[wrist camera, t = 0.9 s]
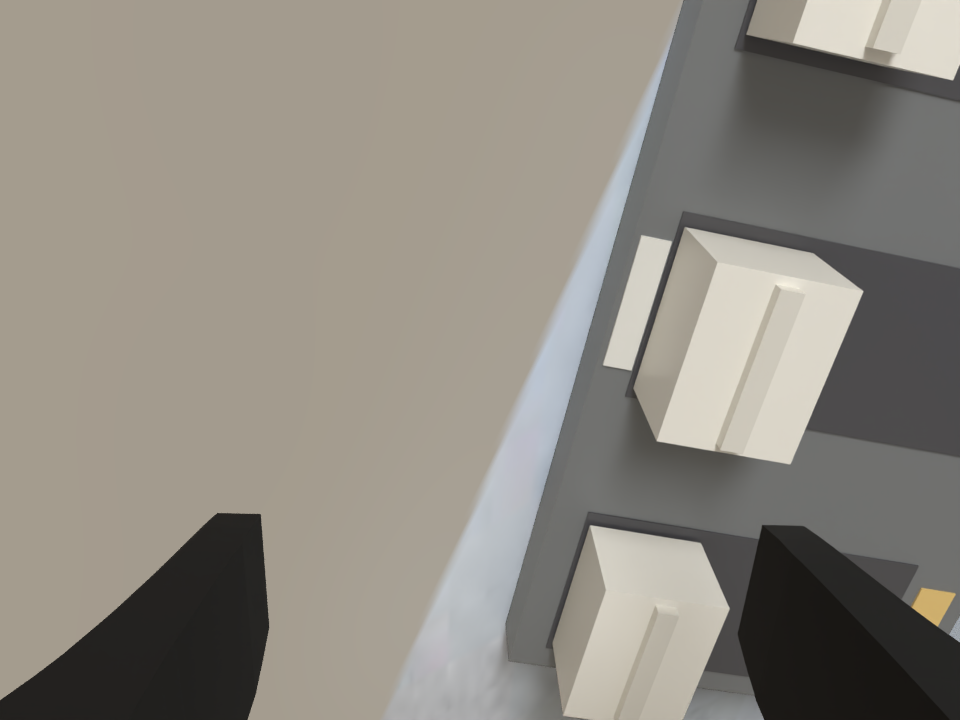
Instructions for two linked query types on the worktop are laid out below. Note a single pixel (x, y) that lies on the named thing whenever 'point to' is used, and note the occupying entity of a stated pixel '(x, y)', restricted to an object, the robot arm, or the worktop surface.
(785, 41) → the near tab
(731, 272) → the middle tab
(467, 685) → the worktop surface
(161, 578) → the robot arm
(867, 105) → the switch plate
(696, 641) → the far tab
